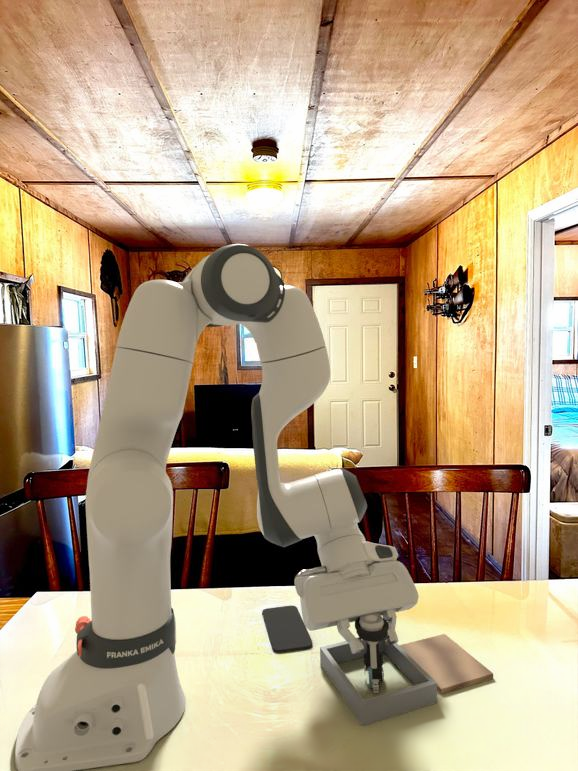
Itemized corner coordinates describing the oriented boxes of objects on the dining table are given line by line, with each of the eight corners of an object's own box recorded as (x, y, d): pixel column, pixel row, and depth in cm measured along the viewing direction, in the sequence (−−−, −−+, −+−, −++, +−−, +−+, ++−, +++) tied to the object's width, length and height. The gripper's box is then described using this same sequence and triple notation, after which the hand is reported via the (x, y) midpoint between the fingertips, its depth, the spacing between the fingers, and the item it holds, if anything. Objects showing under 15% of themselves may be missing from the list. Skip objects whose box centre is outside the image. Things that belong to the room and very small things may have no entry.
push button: (393, 696, 72) (390, 632, 71) (358, 695, 72) (354, 632, 72) (389, 668, 78) (386, 609, 78) (356, 667, 79) (354, 609, 78)
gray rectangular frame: (362, 725, 66) (361, 705, 66) (320, 664, 80) (320, 647, 80) (437, 702, 71) (437, 683, 70) (385, 648, 84) (385, 631, 84)
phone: (296, 604, 100) (314, 645, 85) (296, 608, 100) (314, 649, 85) (261, 609, 98) (273, 651, 83) (261, 613, 98) (273, 655, 83)
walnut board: (441, 694, 72) (441, 689, 72) (397, 650, 84) (397, 645, 84) (493, 678, 76) (493, 673, 76) (444, 638, 87) (444, 633, 87)
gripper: (295, 564, 78) (320, 656, 69) (403, 546, 84) (438, 628, 76) (287, 579, 82) (309, 668, 73) (390, 561, 89) (421, 640, 80)
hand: (375, 647), depth 74 cm, fingers closed on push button, 5 cm apart
